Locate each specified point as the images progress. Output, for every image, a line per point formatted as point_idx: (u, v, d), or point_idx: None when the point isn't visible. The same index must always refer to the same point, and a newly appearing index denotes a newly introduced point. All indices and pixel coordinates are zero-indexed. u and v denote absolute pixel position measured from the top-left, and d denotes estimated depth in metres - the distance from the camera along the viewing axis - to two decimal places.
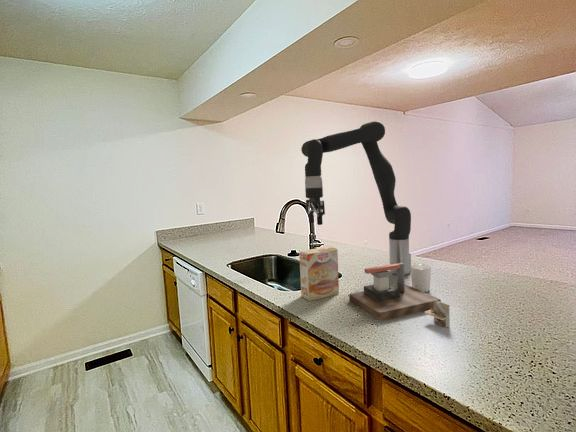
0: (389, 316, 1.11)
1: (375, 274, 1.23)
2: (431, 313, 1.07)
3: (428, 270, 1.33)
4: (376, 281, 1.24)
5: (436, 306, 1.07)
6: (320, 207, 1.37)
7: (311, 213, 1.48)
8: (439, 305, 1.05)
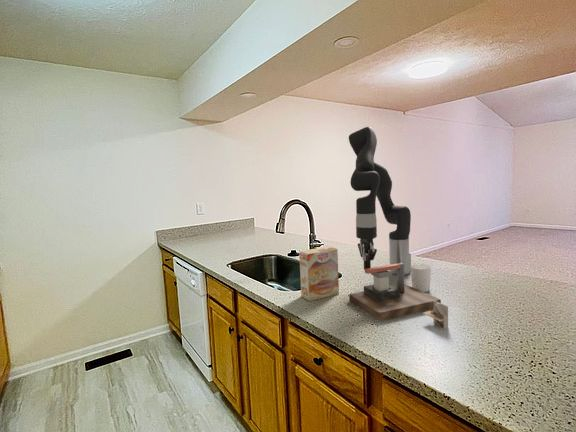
0: (389, 316, 1.11)
1: (375, 274, 1.23)
2: (430, 314, 1.06)
3: (428, 270, 1.33)
4: (376, 281, 1.24)
5: (436, 307, 1.07)
6: None
7: None
8: (438, 306, 1.04)
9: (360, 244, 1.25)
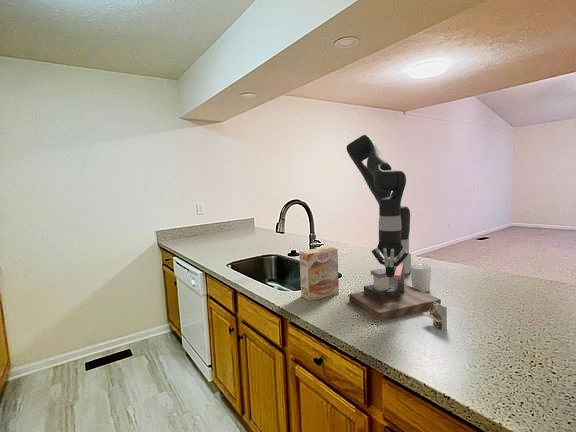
0: (389, 316, 1.11)
1: (375, 274, 1.23)
2: (429, 314, 1.06)
3: (428, 270, 1.33)
4: (376, 281, 1.24)
5: (435, 308, 1.06)
6: None
7: None
8: (437, 307, 1.04)
9: (384, 250, 1.14)
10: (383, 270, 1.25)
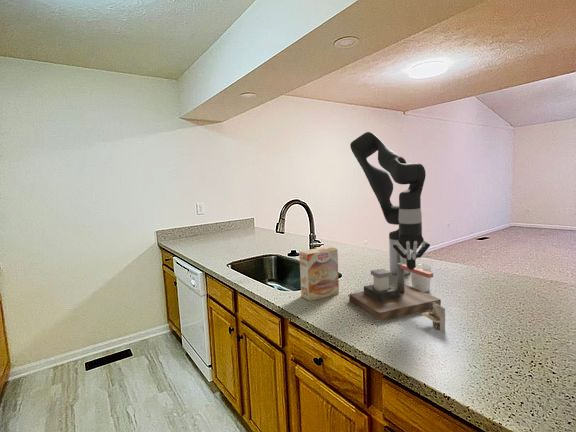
0: (389, 316, 1.11)
1: (375, 274, 1.23)
2: (428, 315, 1.05)
3: (428, 270, 1.33)
4: (376, 281, 1.24)
5: (434, 309, 1.06)
6: None
7: (411, 257, 1.16)
8: (435, 308, 1.03)
9: (407, 243, 1.14)
10: (383, 270, 1.25)
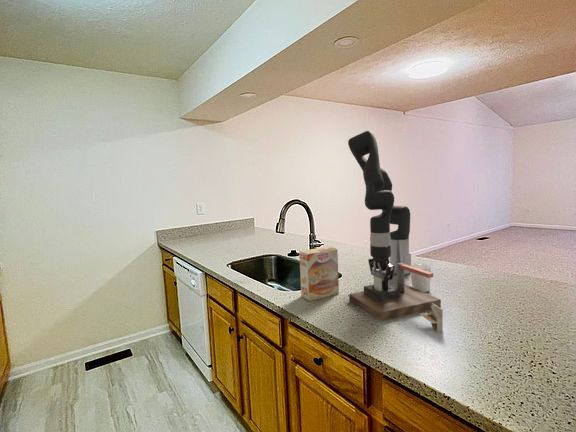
0: (389, 316, 1.11)
1: (375, 274, 1.23)
2: (426, 316, 1.05)
3: (428, 270, 1.33)
4: (376, 281, 1.24)
5: None
6: None
7: None
8: (433, 308, 1.03)
9: (374, 263, 1.25)
10: None
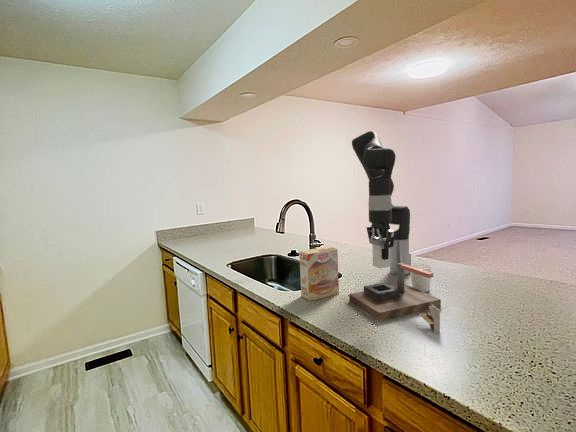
0: (389, 316, 1.11)
1: (374, 242, 1.11)
2: (424, 316, 1.05)
3: (428, 270, 1.33)
4: (375, 249, 1.12)
5: None
6: None
7: None
8: (431, 309, 1.02)
9: (373, 230, 1.13)
10: (383, 238, 1.13)
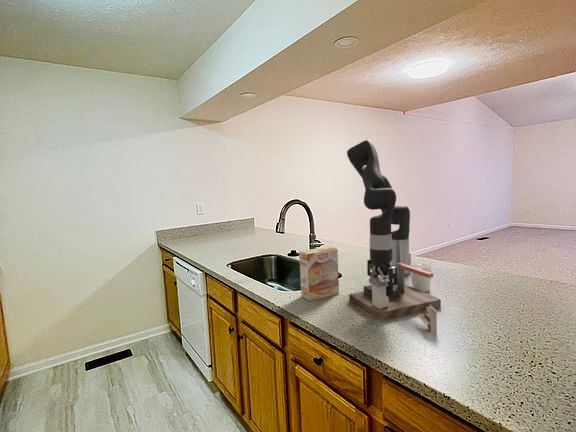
0: (389, 316, 1.11)
1: (374, 282, 1.14)
2: (422, 317, 1.04)
3: (428, 270, 1.33)
4: (375, 289, 1.15)
5: None
6: None
7: None
8: (429, 310, 1.02)
9: (374, 267, 1.14)
10: None
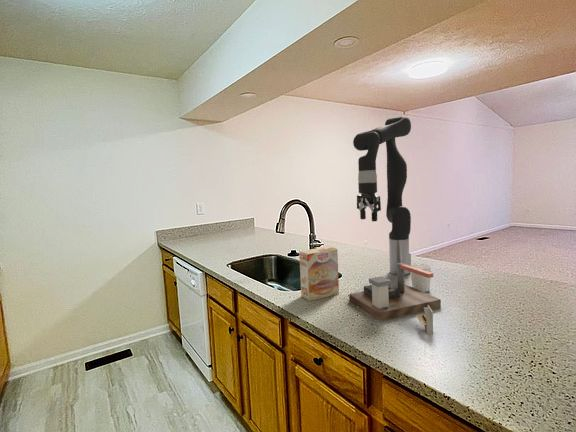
0: (389, 316, 1.11)
1: (374, 282, 1.14)
2: (420, 317, 1.04)
3: (428, 270, 1.33)
4: (375, 289, 1.15)
5: None
6: None
7: None
8: (426, 310, 1.02)
9: (362, 199, 1.38)
10: (382, 278, 1.16)
